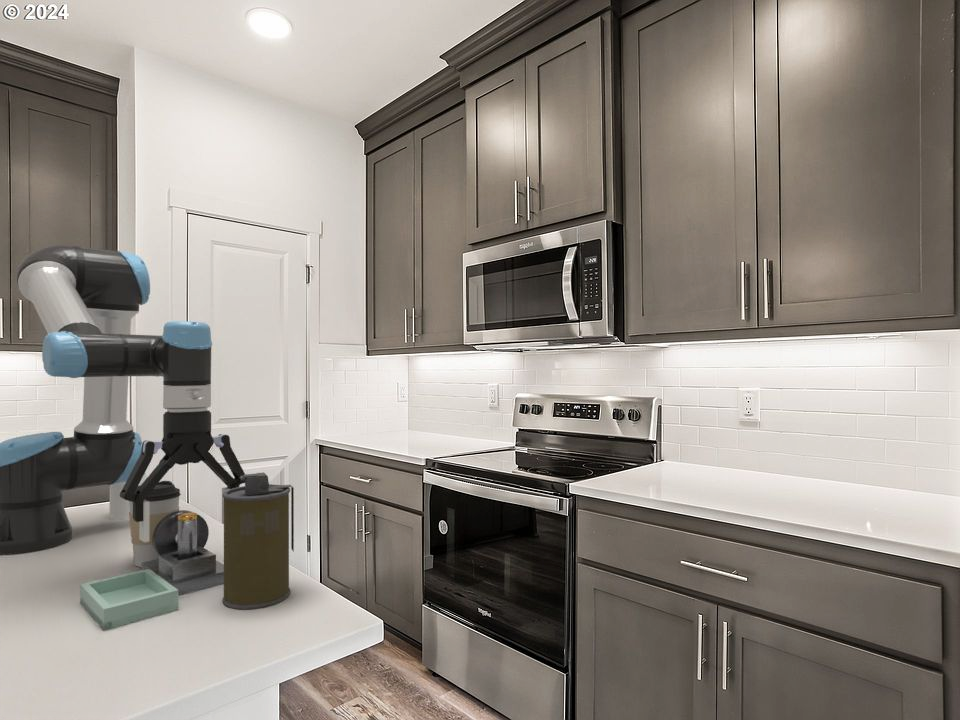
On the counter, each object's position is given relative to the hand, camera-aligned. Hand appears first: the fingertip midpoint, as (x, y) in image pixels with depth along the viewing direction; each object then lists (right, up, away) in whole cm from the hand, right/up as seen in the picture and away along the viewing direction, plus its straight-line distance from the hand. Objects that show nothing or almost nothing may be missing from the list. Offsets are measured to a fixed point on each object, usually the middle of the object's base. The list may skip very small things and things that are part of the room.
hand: (187, 532), depth 102 cm
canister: (+15, -9, -6) cm, 18 cm away
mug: (-38, -10, +49) cm, 63 cm away
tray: (-4, -9, -10) cm, 14 cm away
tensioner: (-2, -9, +3) cm, 10 cm away
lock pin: (0, -7, 0) cm, 7 cm away
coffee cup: (-13, -9, +12) cm, 20 cm away
